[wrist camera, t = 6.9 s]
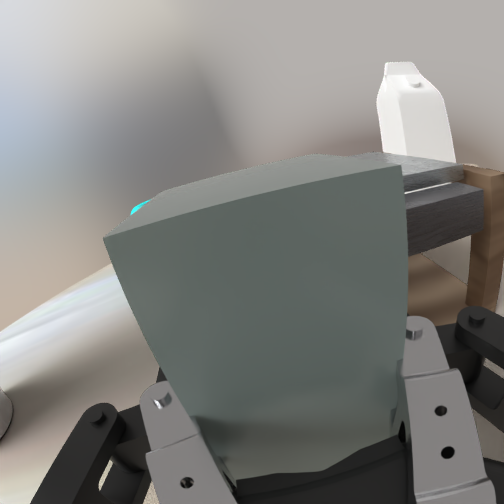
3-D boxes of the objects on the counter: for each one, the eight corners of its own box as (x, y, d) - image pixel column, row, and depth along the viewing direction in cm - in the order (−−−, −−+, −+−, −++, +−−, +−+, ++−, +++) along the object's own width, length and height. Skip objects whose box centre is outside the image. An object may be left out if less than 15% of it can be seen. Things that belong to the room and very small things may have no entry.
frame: (494, 314, 17) (506, 172, 13) (277, 404, 17) (227, 241, 13) (392, 241, 34) (382, 152, 30) (250, 282, 34) (224, 187, 30)
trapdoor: (498, 224, 13) (497, 171, 12) (297, 291, 13) (283, 222, 12) (377, 181, 29) (373, 151, 28) (255, 210, 29) (248, 178, 28)
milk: (430, 179, 57) (410, 67, 48) (459, 188, 47) (437, 57, 38) (386, 187, 59) (362, 69, 50) (410, 198, 48) (384, 56, 39)
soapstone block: (260, 514, 9) (102, 238, 4) (249, 430, 13) (161, 191, 9) (378, 482, 9) (401, 164, 4) (345, 405, 13) (315, 153, 9)
